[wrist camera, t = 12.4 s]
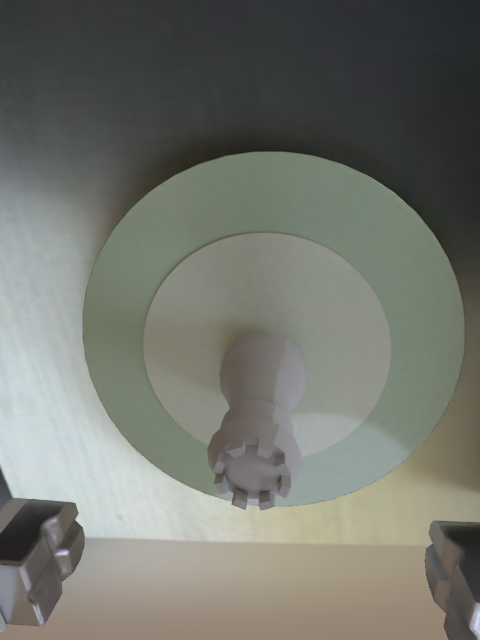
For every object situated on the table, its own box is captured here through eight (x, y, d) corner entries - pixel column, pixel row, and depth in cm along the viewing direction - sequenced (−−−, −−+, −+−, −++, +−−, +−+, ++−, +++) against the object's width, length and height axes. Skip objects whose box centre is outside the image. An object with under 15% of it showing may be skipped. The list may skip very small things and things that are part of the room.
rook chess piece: (249, 312, 18) (226, 392, 10) (323, 357, 18) (353, 467, 11) (207, 378, 19) (159, 490, 12) (275, 419, 20) (273, 553, 12)
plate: (60, 169, 18) (44, 166, 17) (482, 138, 15) (500, 132, 14) (121, 485, 24) (113, 500, 23) (431, 498, 22) (440, 516, 20)
